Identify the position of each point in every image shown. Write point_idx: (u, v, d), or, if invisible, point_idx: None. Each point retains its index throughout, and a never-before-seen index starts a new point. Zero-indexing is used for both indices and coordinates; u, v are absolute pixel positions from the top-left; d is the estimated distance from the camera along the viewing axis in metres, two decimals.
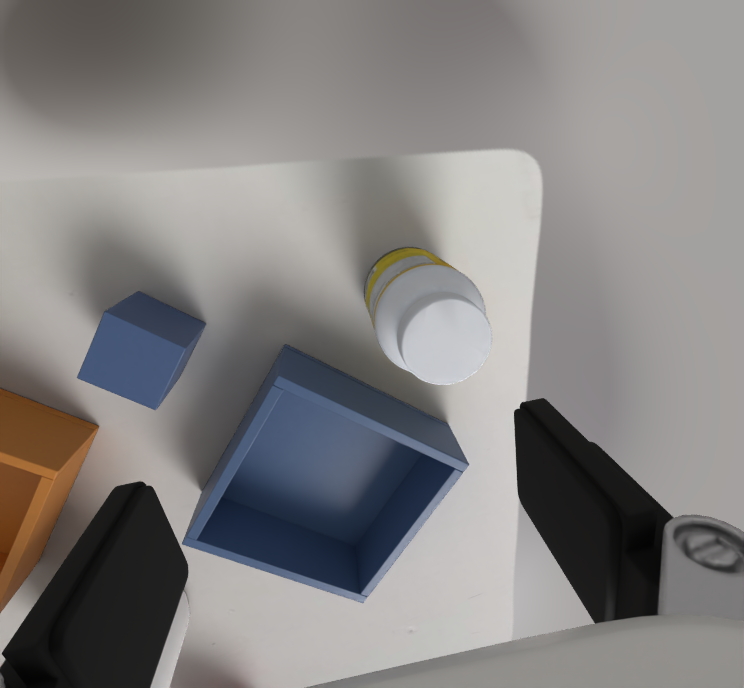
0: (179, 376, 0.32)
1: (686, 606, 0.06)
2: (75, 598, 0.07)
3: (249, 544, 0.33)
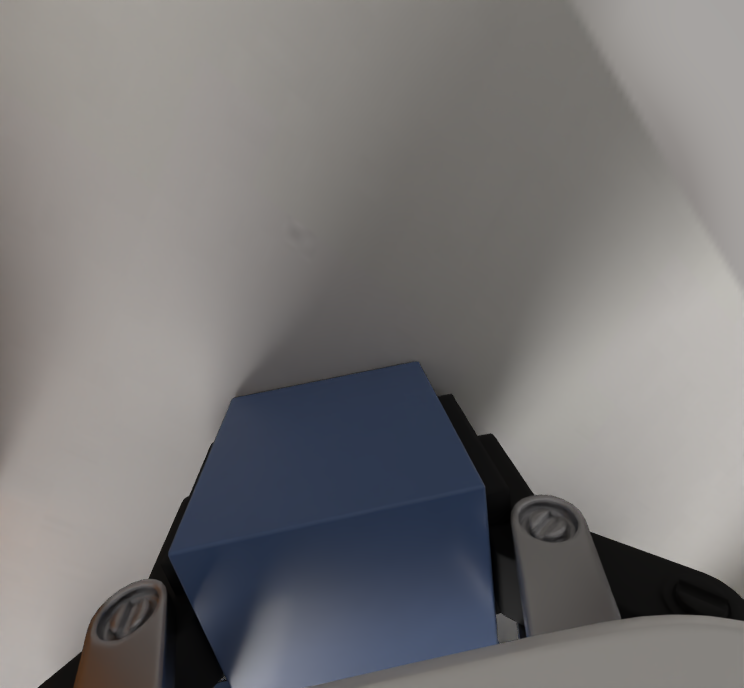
0: None
1: (542, 584, 0.06)
2: None
3: None
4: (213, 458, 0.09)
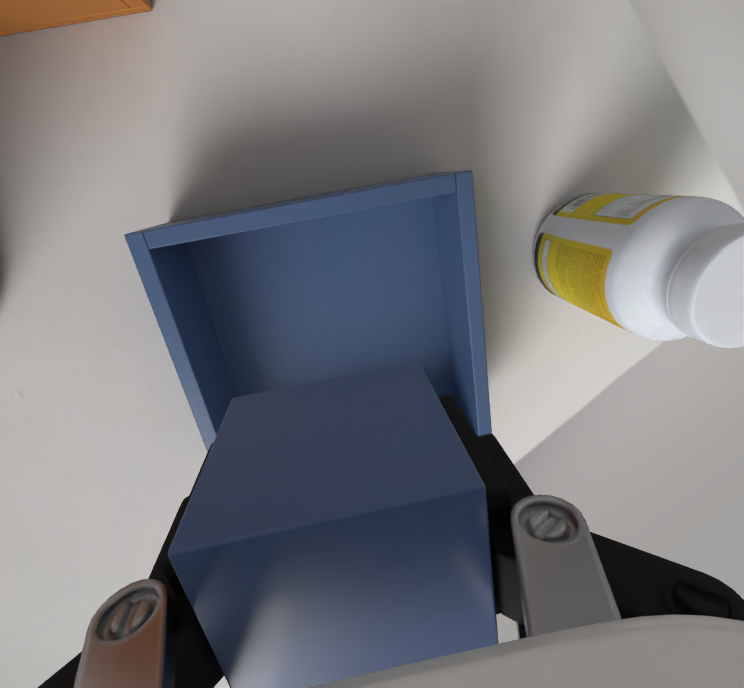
0: None
1: (542, 584, 0.06)
2: None
3: (186, 324, 0.21)
4: (213, 458, 0.09)
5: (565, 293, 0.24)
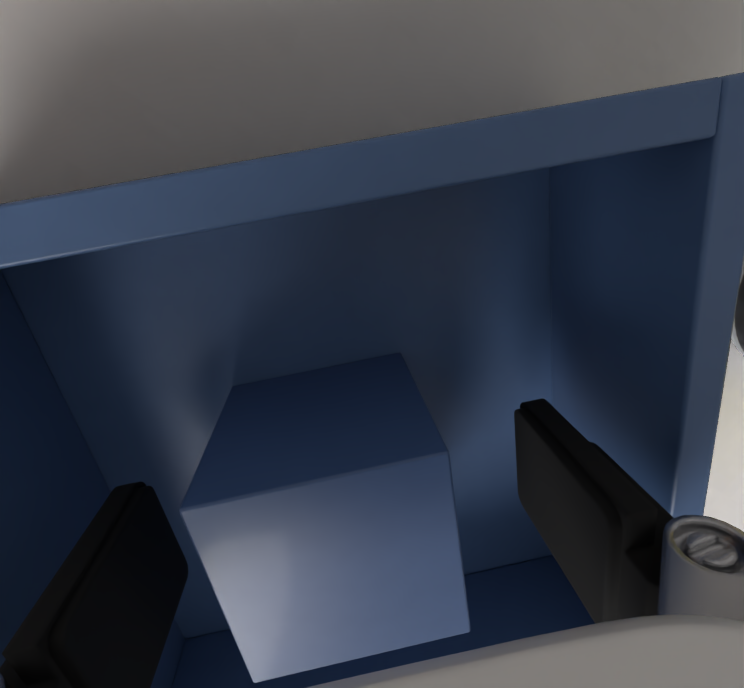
0: None
1: (686, 606, 0.06)
2: (75, 598, 0.07)
3: None
4: (216, 435, 0.10)
5: None
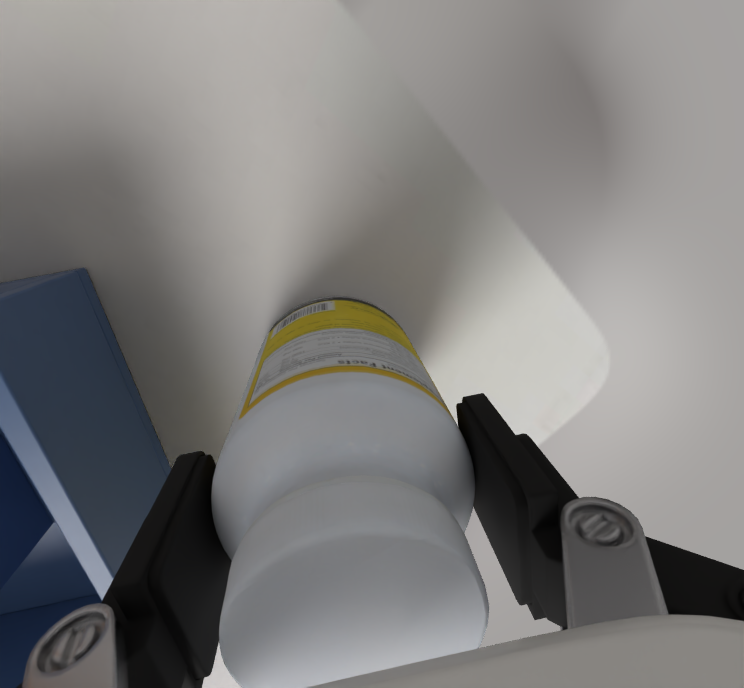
0: None
1: (589, 586, 0.06)
2: (164, 545, 0.08)
3: None
4: None
5: None
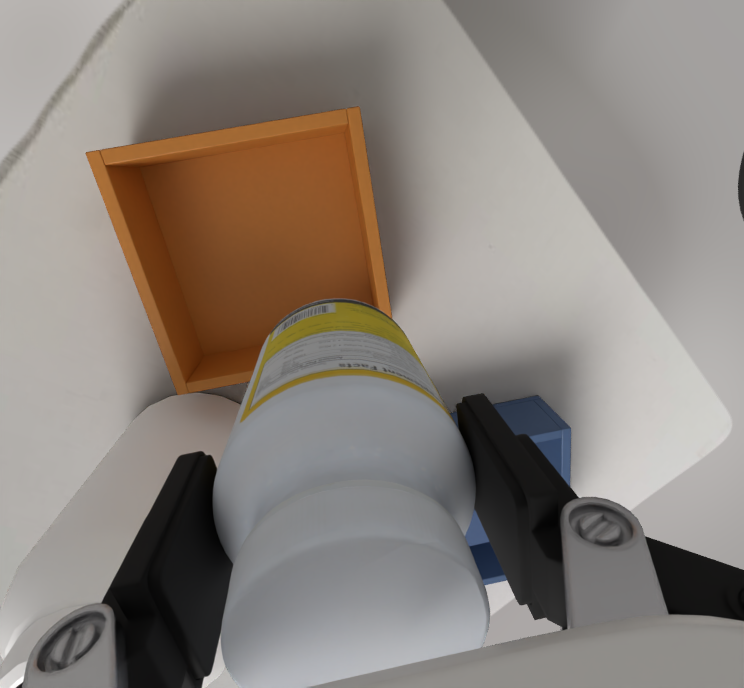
0: None
1: (588, 586, 0.06)
2: (164, 545, 0.08)
3: None
4: None
5: None
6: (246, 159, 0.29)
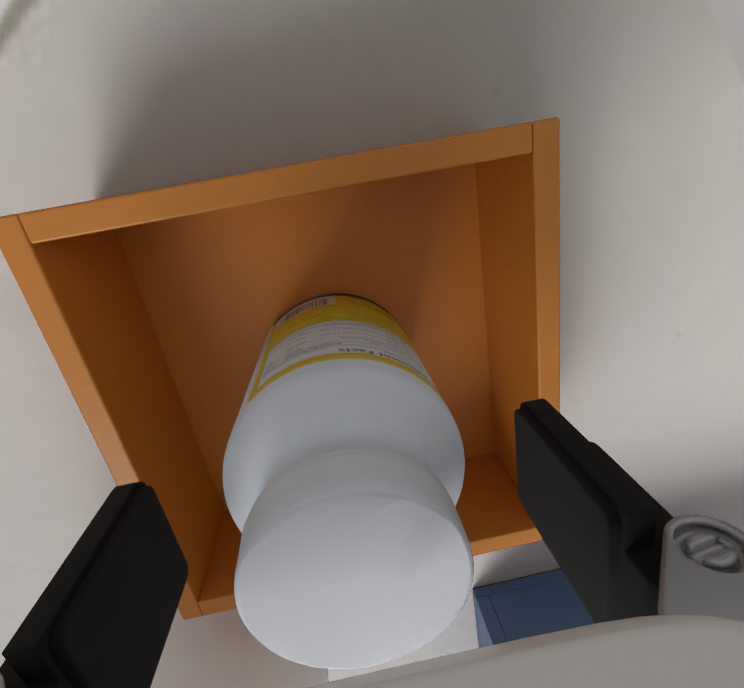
0: None
1: (686, 606, 0.06)
2: (75, 598, 0.07)
3: None
4: None
5: None
6: (302, 208, 0.16)
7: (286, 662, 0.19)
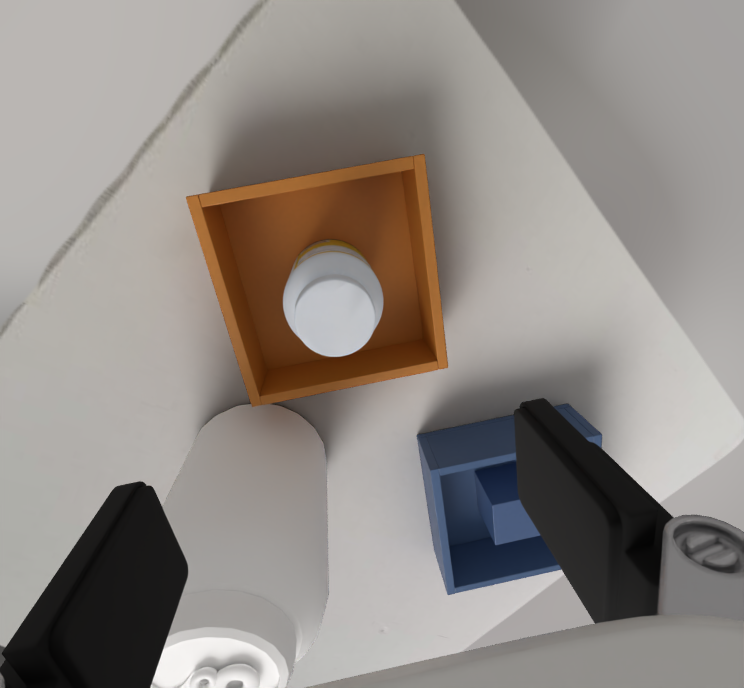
0: None
1: (686, 606, 0.06)
2: (75, 598, 0.07)
3: None
4: (485, 488, 0.41)
5: None
6: (313, 195, 0.32)
7: (303, 445, 0.35)
